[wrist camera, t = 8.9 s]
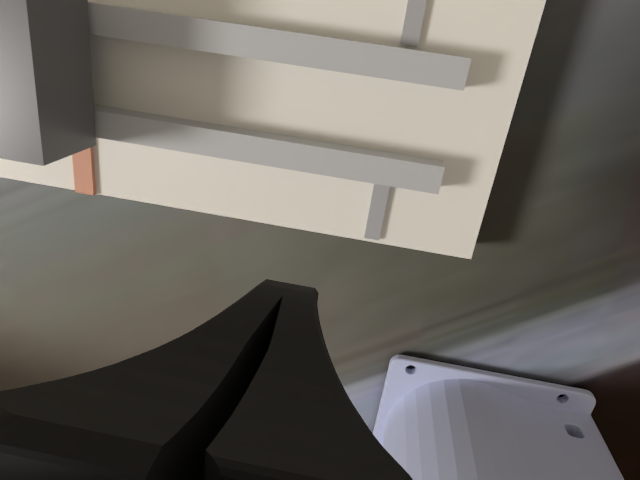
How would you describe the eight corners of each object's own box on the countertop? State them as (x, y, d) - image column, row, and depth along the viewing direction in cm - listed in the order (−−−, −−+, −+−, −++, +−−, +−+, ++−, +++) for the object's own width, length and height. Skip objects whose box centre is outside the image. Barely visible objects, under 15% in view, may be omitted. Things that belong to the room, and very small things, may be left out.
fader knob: (103, -3, 17) (21, -12, 13) (110, 139, 19) (40, 167, 15) (-5, -19, 17) (-116, -32, 13) (14, 123, 19) (-79, 146, 15)
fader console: (539, -21, 16) (563, -29, 14) (465, 244, 21) (474, 270, 18) (-63, -102, 18) (-128, -121, 16) (-20, 160, 22) (-67, 175, 20)
